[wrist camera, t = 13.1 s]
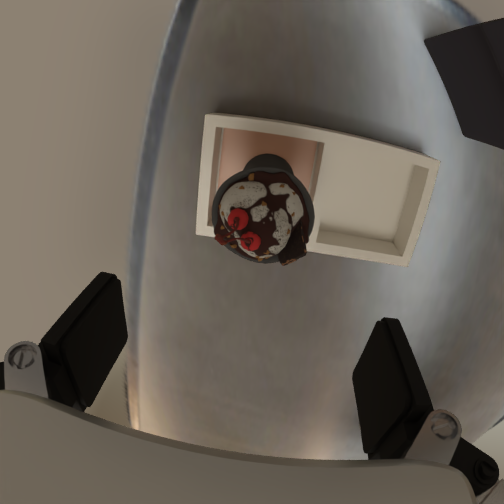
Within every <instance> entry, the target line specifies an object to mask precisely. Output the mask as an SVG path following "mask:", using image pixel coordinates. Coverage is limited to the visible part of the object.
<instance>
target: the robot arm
mask: <svg viewBox="0 0 504 504" xmlns="http://www.w3.org/2000/svg"><path fill="white" fill-rule="evenodd" d="M127 338H128V332H127V326H126V319H125V312H124V305H123V297H122V288H121V281H120V280H119V279H117V276H116V275H115V274H110V273H106V272H100V273H99V274H98V275H97V276H96V277H95V278H94V279H93V281H92V282H91V283H90V284H89V285H88V286H87V287H86V288H85V289H84V290H83V291H82V293H81V294H80V295H79V296H78V297H77V298H76V299H75V300H74V301H73V303H72V304H71V305H70V306H69V307H68V308H67V310H66V311H65V312H64V313H63V314H62V315H61V316H60V318H59V319H58V320H57V321H56V322H55V324H54V325H53V326H52V327H51V328H50V330H49V331H48V332H47V333H46V334H45V336H44V337H43V338H42V339H41V342H40V343H39V345H38V346H37V345H36V344H35V343H33V342H29V341H23V342H19V343H16V344H14V345H13V346H11V347H10V348H9V349H8V350H7V352H6V354H5V357H4V362H0V504H504V480H503V479H501V480H500V481H499V479H498V477H499V468H498V465H497V463H496V462H495V460H494V459H493V458H491V457H490V456H489V455H487V454H486V453H484V452H482V451H481V450H479V449H478V448H476V447H475V446H473V445H472V444H470V443H469V442H467V441H466V440H464V439H463V438H461V433H462V428H461V424H460V421H459V420H458V418H457V417H456V416H455V415H454V414H452V413H451V412H449V411H447V410H442V409H438V410H434V409H433V406H432V403H431V400H430V397H429V394H428V391H427V389H426V386H425V383H424V380H423V378H422V375H421V372H420V370H419V367H418V365H417V362H416V360H415V357H414V355H413V352H412V350H411V347H410V345H409V342H408V340H407V337H406V335H405V333H404V330H403V328H402V326H401V323H400V321H399V320H398V319H395V318H385V317H384V318H382V319H381V321H377V322H376V324H375V326H374V329H373V331H372V333H371V335H370V338H369V340H368V342H367V344H366V346H365V348H364V351H363V353H362V355H361V357H360V359H359V361H358V363H357V365H356V367H355V369H354V371H353V376H352V380H353V386H354V392H355V398H356V404H357V410H358V416H359V427H360V430H361V436H362V443H363V450H364V453H368V460H314V459H296V458H283V457H272V456H262V455H254V454H246V453H239V452H232V451H226V450H220V449H215V448H209V447H204V446H199V445H194V444H189V443H185V442H181V441H176V440H172V439H168V438H164V437H160V436H156V435H153V434H149V433H145V432H142V431H139V430H135V429H132V428H128V427H125V426H122V425H119V424H116V423H113V422H110V421H107V420H104V419H101V418H98V417H96V416H93V415H90V414H87V413H85V412H84V411H85V409H86V407H90V406H91V405H92V404H93V402H94V400H95V398H96V396H97V394H98V392H99V391H100V389H101V387H102V385H103V383H104V381H105V380H106V378H107V376H108V374H109V372H110V370H111V369H112V367H113V365H114V363H115V362H116V360H117V358H118V356H119V354H120V353H121V351H122V349H123V347H124V346H125V344H126V342H127Z"/></svg>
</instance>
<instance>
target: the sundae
mask: <svg viewBox="0 0 504 504" xmlns="http://www.w3.org/2000/svg"><path fill="white" fill-rule="evenodd" d="M314 220H315V213H314V206H313V203H312V199H311V197H310V195H309V193H308V191H307V189H306V188H305V186H304V185H303V184H302V182H301V181H300V180H299V179H298V178H297V177H296V176H294V173H293V170H292V168H291V166H290V165H289V163H288V162H287V161H286V160H285V159H283V158H282V157H280V156H278V155H274V154H261V155H258V156H255V157H254V158H252V159H251V160H250V161H249V162H248V163H247V164H246V165H245V167H244V169H243V171H240V172H238V173H236V174H234V175H233V176H231V177H230V178H228V179H227V180H226V181H224V182H223V183H222V185H221V186H220V187H219V189H218V191H217V192H216V194H215V197H214V200H213V204H212V223H213V227H214V234H215V235H216V236H215V240H217V241H218V242H219V243H220V244H221V245H224V246H225V247H227V248H228V249H229V250H230V251H232V252H233V253H235V254H237V255H239V256H241V257H243V258H245V259H247V260H250V261H253V262H258V263H274V262H278V261H280V263H281V264H282V266H284V265H287V264H289V263H292V262H294V261H296V260H297V259H299V258H301V257H303V256H305V255H306V253H307V249H306V244H307V243H308V242H309V236H310V234H311V233H312V230H313V226H314Z"/></svg>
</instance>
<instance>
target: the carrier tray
mask: <svg viewBox="0 0 504 504" xmlns="http://www.w3.org/2000/svg"><path fill="white" fill-rule="evenodd" d="M261 154H274V155H278V156H280V157H282V158H283V159H285V160H286V161H287V162H288V163H289V165H290V166H291V168H292V170H293V173H294V176H296V177H297V178H298V179H299V180H300V181H301V182H302V184H303V185H304V186H305V188H306V189H307V191H308V193H309V195H310V197H311V199H312V203H313V206H314V213H315V220H314V226H313V230H312V233H311V234H310V236H309V242H308V243H307V244H306V249H307V251H310V252H316V253H323V254H329V255H335V256H342V257H348V258H355V259H361V260H367V261H373V262H380V263H386V264H392V265H398V266H405V267H408V265H409V262H410V259H411V257H412V254H413V251H414V248H415V245H416V243H417V240H418V237H419V234H420V231H421V228H422V225H423V222H424V219H425V215H426V212H427V209H428V206H429V202H430V199H431V195H432V192H433V188H434V185H435V181H436V177H437V173H438V169H439V165H440V161H439V160H437V159H434V158H432V157H430V156H428V155H426V154H423V153H420V152H417V151H414V150H410V149H407V148H404V147H400V146H397V145H393V144H389V143H386V142H382V141H378V140H374V139H370V138H366V137H362V136H358V135H353V134H349V133H345V132H340V131H335V130H331V129H326V128H321V127H315V126H310V125H305V124H299V123H293V122H287V121H280V120H274V119H267V118H260V117H252V116H243V115H234V114H225V113H210V114H205V122H204V132H203V142H202V153H201V165H200V177H199V190H198V205H197V221H196V234H197V235H204V236H210V237H215V236H216V235H215V234H214V227H213V223H212V204H213V200H214V197H215V194H216V192H217V191H218V189H219V187H220V186H221V185H222V183H223V182H224V181H226V180H227V179H228V178H230V177H231V176H233V175H234V174H236V173H238V172H240V171H243V169H244V167H245V165H246V164H247V163H248V162H249V161H250V160H251V159H252V158H254V157H255V156H258V155H261Z"/></svg>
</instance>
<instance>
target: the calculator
mask: <svg viewBox="0 0 504 504" xmlns="http://www.w3.org/2000/svg"><path fill="white" fill-rule="evenodd" d="M424 42H425V45H426V47H427V49H428V51H429V53H430V55H431V57H432V59H433V61H434V63H435V65H436V67H437V69H438V72H439V74H440V76H441V78H442V80H443V83H444V85H445V87H446V90H447V92H448V95H449V97H450V100H451V102H452V105H453V107H454V110H455V113H456V115H457V118H458V121H459V124H460V126H461V129H462V132H463V135H464V136H465V137H467V138H471V139H474V140H477V141H480V142H483V143H486V144H489V145H492V146H495V147H498V148H501V149H504V18H501V19H497V20H492V21H488V22H483V23H480V24H476V25H472V26H468V27H464V28H461V29H457V30H454V31H451V32H447V33H444V34H441V35H438V36H434V37H431V38H428V39H426V40H425V41H424Z"/></svg>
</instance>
